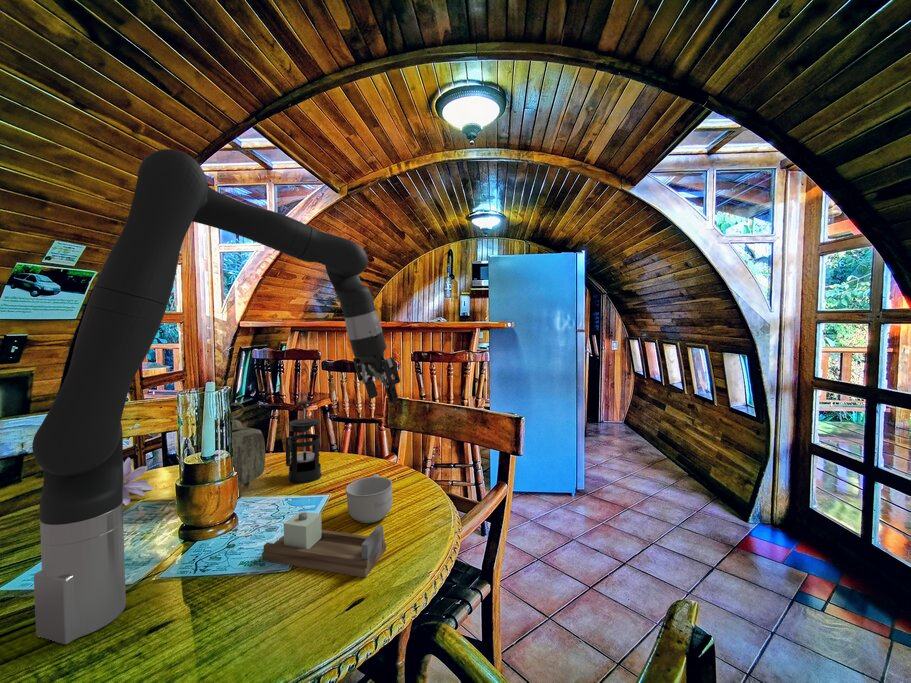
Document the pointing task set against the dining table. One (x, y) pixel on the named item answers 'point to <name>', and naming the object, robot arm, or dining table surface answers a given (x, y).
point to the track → (332, 552)
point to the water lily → (133, 486)
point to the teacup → (369, 498)
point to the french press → (305, 463)
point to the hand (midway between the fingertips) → (383, 399)
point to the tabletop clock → (247, 451)
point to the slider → (302, 530)
